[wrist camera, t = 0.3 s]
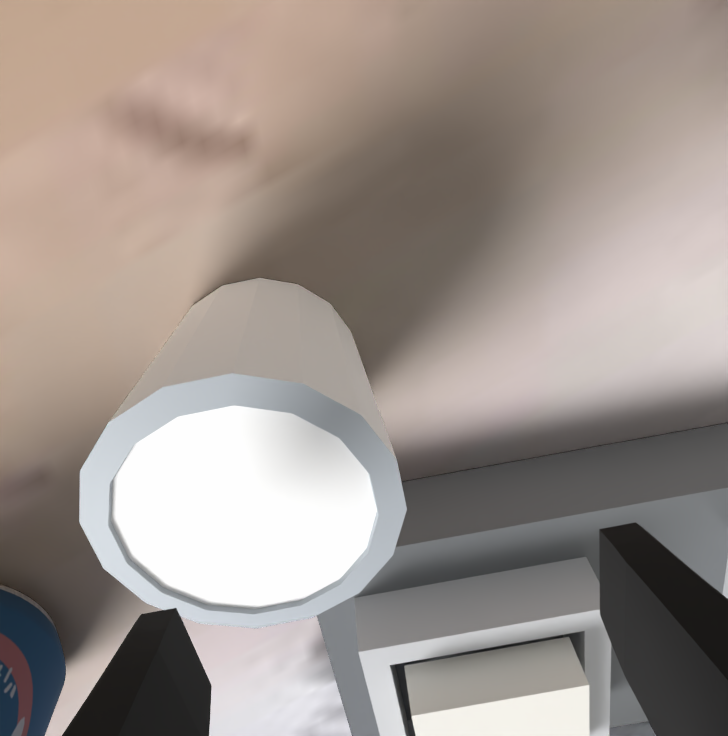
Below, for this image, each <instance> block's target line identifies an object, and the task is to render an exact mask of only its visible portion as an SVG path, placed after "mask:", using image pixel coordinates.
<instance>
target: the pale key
mask: <svg viewBox="0 0 728 736" xmlns="http://www.w3.org/2000/svg"><path fill="white" fill-rule="evenodd" d="M404 668H405V675H406V682H407V689H408V696H409V703H410V710H411V716H412V721H413V726H414V730H415V735H416V736H589V683H588V680H587V678H586V676H585V673H584V671H583V669H582V666H581V664H580V661H579V659H578V657H577V654H576V652H575V650H574V647H573V645H572V643H571V640H570V638H569V637H564V638H558V639H553V640H547V641H541V642H536V643H530V644H524V645H519V646H513V647H507V648H502V649H496V650H490V651H485V652H479V653H473V654H468V655H462V656H456V657H451V658H445V659H439V660H434V661H428V662H422V663H417V664H411V665H405V666H404Z"/></svg>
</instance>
